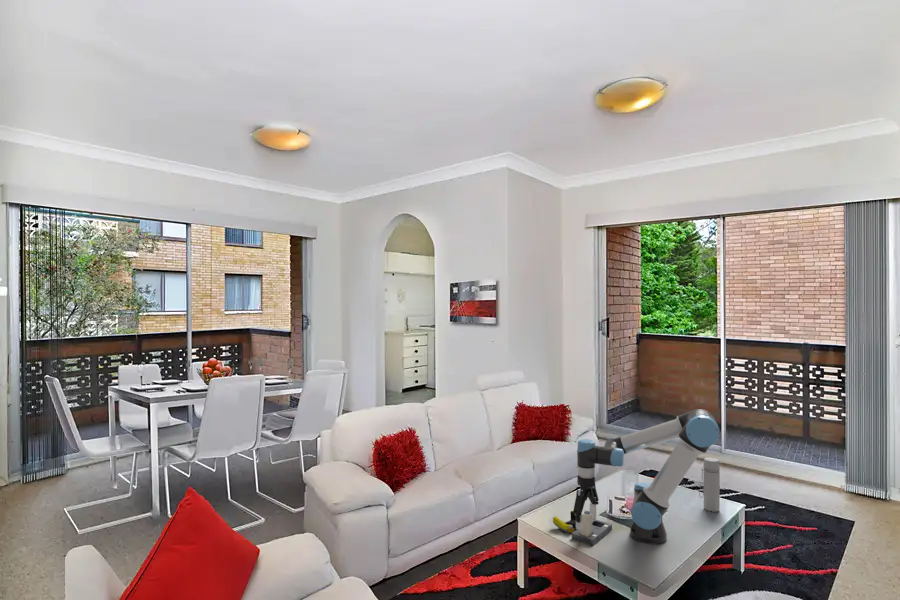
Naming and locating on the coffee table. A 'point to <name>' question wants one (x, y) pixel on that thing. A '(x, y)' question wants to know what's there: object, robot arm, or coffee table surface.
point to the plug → (586, 524)
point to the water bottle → (711, 484)
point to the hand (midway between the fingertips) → (586, 523)
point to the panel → (593, 532)
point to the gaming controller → (566, 523)
